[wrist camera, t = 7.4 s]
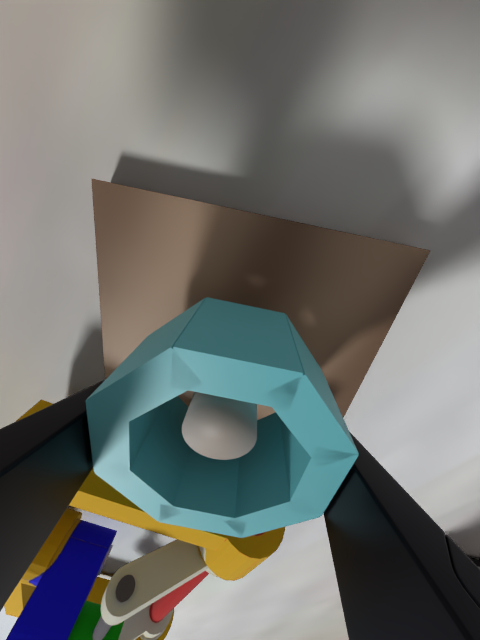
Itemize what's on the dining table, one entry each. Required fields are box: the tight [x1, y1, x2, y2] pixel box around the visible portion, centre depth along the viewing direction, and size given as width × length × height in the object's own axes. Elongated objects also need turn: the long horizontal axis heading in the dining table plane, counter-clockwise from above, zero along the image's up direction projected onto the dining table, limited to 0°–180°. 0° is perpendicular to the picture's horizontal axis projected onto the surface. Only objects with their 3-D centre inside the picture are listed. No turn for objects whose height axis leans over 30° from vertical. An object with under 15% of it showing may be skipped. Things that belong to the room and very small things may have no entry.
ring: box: [86, 297, 359, 538], centre depth 7 cm, size 6×6×3 cm
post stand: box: [92, 179, 430, 460], centre depth 9 cm, size 12×12×5 cm
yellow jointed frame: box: [4, 400, 285, 640], centre depth 14 cm, size 18×6×30 cm
